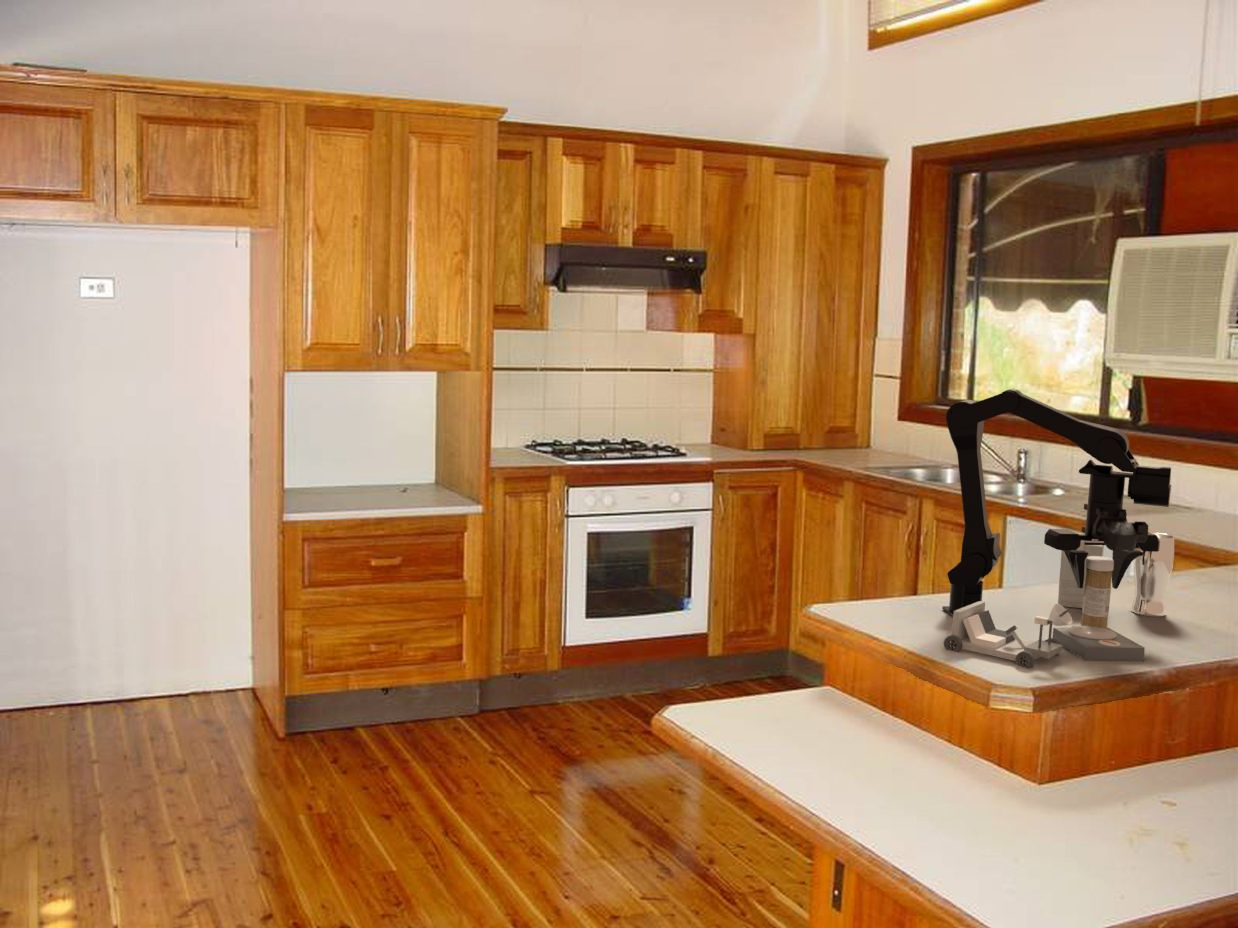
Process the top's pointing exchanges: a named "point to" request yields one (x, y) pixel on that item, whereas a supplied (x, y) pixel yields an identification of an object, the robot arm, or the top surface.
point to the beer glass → (1153, 578)
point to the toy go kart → (1003, 635)
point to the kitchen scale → (1098, 643)
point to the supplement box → (1067, 582)
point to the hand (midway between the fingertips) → (1097, 588)
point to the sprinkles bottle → (1097, 591)
